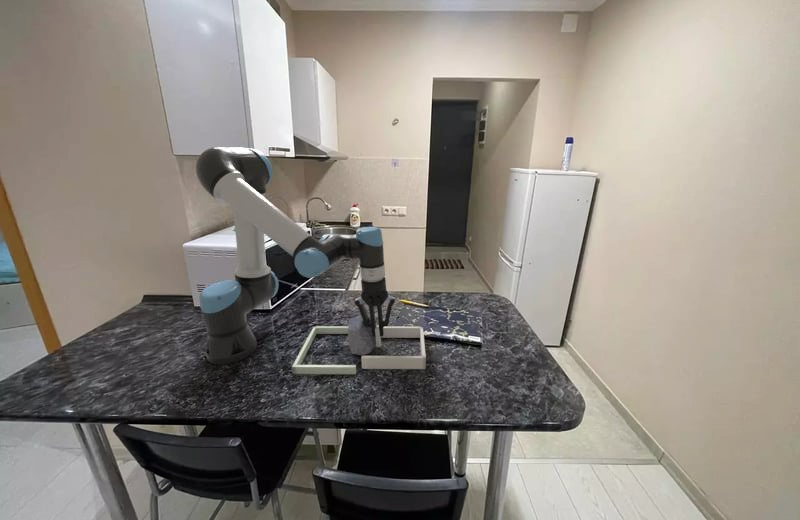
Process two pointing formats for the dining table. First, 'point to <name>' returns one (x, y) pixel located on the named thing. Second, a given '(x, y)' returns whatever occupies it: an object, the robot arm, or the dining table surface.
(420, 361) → the frame
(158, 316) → the dining table surface
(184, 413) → the dining table surface
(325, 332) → the pale green u-shaped frame
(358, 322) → the stone
